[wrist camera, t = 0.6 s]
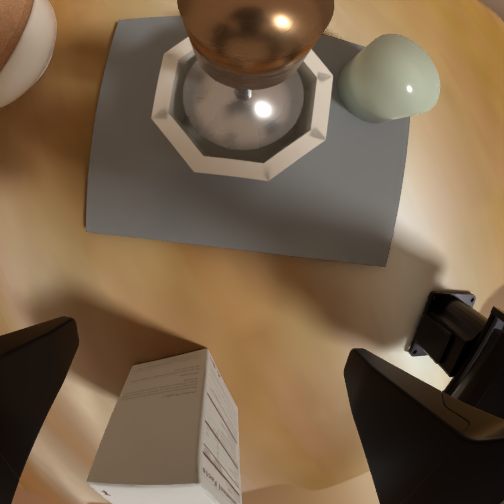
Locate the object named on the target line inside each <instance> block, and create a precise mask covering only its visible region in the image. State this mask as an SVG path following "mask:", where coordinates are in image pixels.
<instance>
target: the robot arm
mask: <svg viewBox="0 0 504 504" xmlns="http://www.w3.org/2000/svg"><path fill="white" fill-rule="evenodd" d="M434 296H435V297H434ZM433 298H434V299H433ZM475 299H476V297H475V295H473V294H468V293H453V292H438V291H433V292H431V293H430V295H429V298H428V301H427V304H426V307H425V310H424V312H423V315H422V318H421V321H420V324H419V326H418V329H417V332H416V334H415V337H414V339H413V342H412V344H411V347H410V349H409V354H410V355H411V356H425V355H429V357H430V358H431V359H432V360H433V361H434V362H435V363H436V364H438V365H439V366H440V367H441V368H442V369H443V370H444V371H445V372H446V374H447V375H448V376H449V377H453V378H452V380H451V381H450V383H449V384H448V385H447V387H446V388H445V390H444V391H442V392H441V391H440V390H438V389H436V388H434V387H433V386H431V385H429V384H427V383H425V382H423V381H421V380H420V379H418V378H416V377H414V376H412V375H410V374H409V373H407V372H405V371H403V370H401V369H400V368H398V367H396V366H394V365H392V364H391V363H389V362H387V361H385V360H383V359H382V358H380V357H378V356H376V355H374V354H373V353H371V352H369V351H367V350H366V349H363V348H354V349H352V350H351V351H350V353H349V356H348V359H347V362H346V365H345V368H344V378H345V383H346V388H347V393H348V397H349V402H350V407H351V411H352V415H353V418H354V421H355V424H356V427H357V430H358V433H359V436H360V440H361V443H362V446H363V449H364V452H365V455H366V459H367V462H368V465H369V468H370V472H371V475H372V478H373V481H374V485H375V488H376V492H377V495H378V499H379V502H380V504H504V311H502V310H500V309H498V308H496V307H494V306H493V308H492V310H491V314H490V316H489V318H488V319H487V318H486V317H484V316H483V315H481V314H480V313H479V312H477V311H476V310H475V309H473V305H474V302H475ZM78 345H79V337H78V332H77V325H76V321H75V319H74V318H71V317H66V316H62V317H59V318H56V319H53V320H50V321H46V322H43V323H40V324H37V325H34V326H30V327H27V328H24V329H21V330H18V331H14V332H11V333H8V334H5V335H1V336H0V504H11V503H12V500H13V497H14V494H15V491H16V488H17V485H18V483H19V478H20V477H21V474H22V472H23V469H24V466H25V464H26V461H27V459H28V457H29V454H30V452H31V449H32V447H33V445H34V442H35V440H36V438H37V436H38V433H39V431H40V429H41V427H42V425H43V422H44V420H45V418H46V416H47V414H48V412H49V410H50V408H51V406H52V404H53V402H54V400H55V398H56V396H57V394H58V392H59V390H60V388H61V386H62V384H63V382H64V380H65V378H66V375H67V373H68V370H69V368H70V365H71V363H72V360H73V358H74V355H75V353H76V351H77V348H78ZM414 350H415V351H414ZM413 351H414V352H413Z"/></svg>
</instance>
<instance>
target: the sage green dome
mask: <svg viewBox="0 0 504 504" xmlns="http://www.w3.org/2000/svg"><path fill="white" fill-rule="evenodd" d="M337 86H338V92H339V95H340V98H341V100H342V102H343V103H344V105H345V106H346V108H347V109H348V110H349V111H350V112H351V113H352V114H353V115H354V116H356V117H357V118H359V119H361V120H363V121H365V122H368V123H374V124H378V123H384V122H388V121H392V120H396V119H400V118H404V117H408V116H412V115H417V114H421V113H425V112H427V111H429V110H430V109H432V108H433V107H434V105H435V104H436V102H437V100H438V98H439V93H440V81H439V76H438V72H437V70H436V67H435V65H434V63H433V62H432V60H431V58H430V57H429V56H428V54H427V53H426V52H425V51H424V50H423V49H422V48H421V47H420V46H419V45H418V44H417V43H415V42H414V41H412V40H410V39H409V38H407V37H404V36H401V35H397V34H385V35H382V36H379V37H378V38H376V39H375V40H374V41H373V42H371V43H370V44H369V45H368V46H366V47H365V48H364V49H363V50H362V51H360V52H359V53H358V54H357V55H356V56H355V57H353V58H352V59H351V60H350V61H349V62H348V63H346V64H345V65H344V66H343V68H342V69H341V71H340V72H339V75H338V80H337Z"/></svg>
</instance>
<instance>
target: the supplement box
mask: <svg viewBox="0 0 504 504" xmlns="http://www.w3.org/2000/svg"><path fill="white" fill-rule="evenodd" d="M87 483H88V484H89V485H90V486H91V487H92V488H93V489H94V490H96V491H97V492H98V493H99V494H100V495H101V496H103V497H104V498H105V499H107V500H108V501H109V502H111V503H112V504H242V493H241V478H240V459H239V434H238V408H237V406H236V404H235V402H234V400H233V398H232V396H231V394H230V392H229V390H228V389H227V387H226V385H225V382H224V381H223V379H222V377H221V375H220V373H219V371H218V369H217V366H216V365H215V362H214V360H213V359H212V356H211V354H210V352H209V350H208V349H207V348H206V349H202V350H198V351H194V352H190V353H186V354H182V355H178V356H174V357H169V358H165V359H161V360H156V361H152V362H147V363H142V364H138V365H133V366H132V368H131V371H130V373H129V375H128V377H127V380H126V382H125V384H124V387H123V389H122V391H121V394H120V396H119V398H118V401H117V403H116V406H115V408H114V410H113V413H112V415H111V418H110V420H109V423H108V425H107V428H106V430H105V433H104V435H103V438H102V440H101V443H100V446H99V449H98V451H97V454H96V456H95V459H94V462H93V465H92V467H91V470H90V473H89V476H88V479H87Z"/></svg>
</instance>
